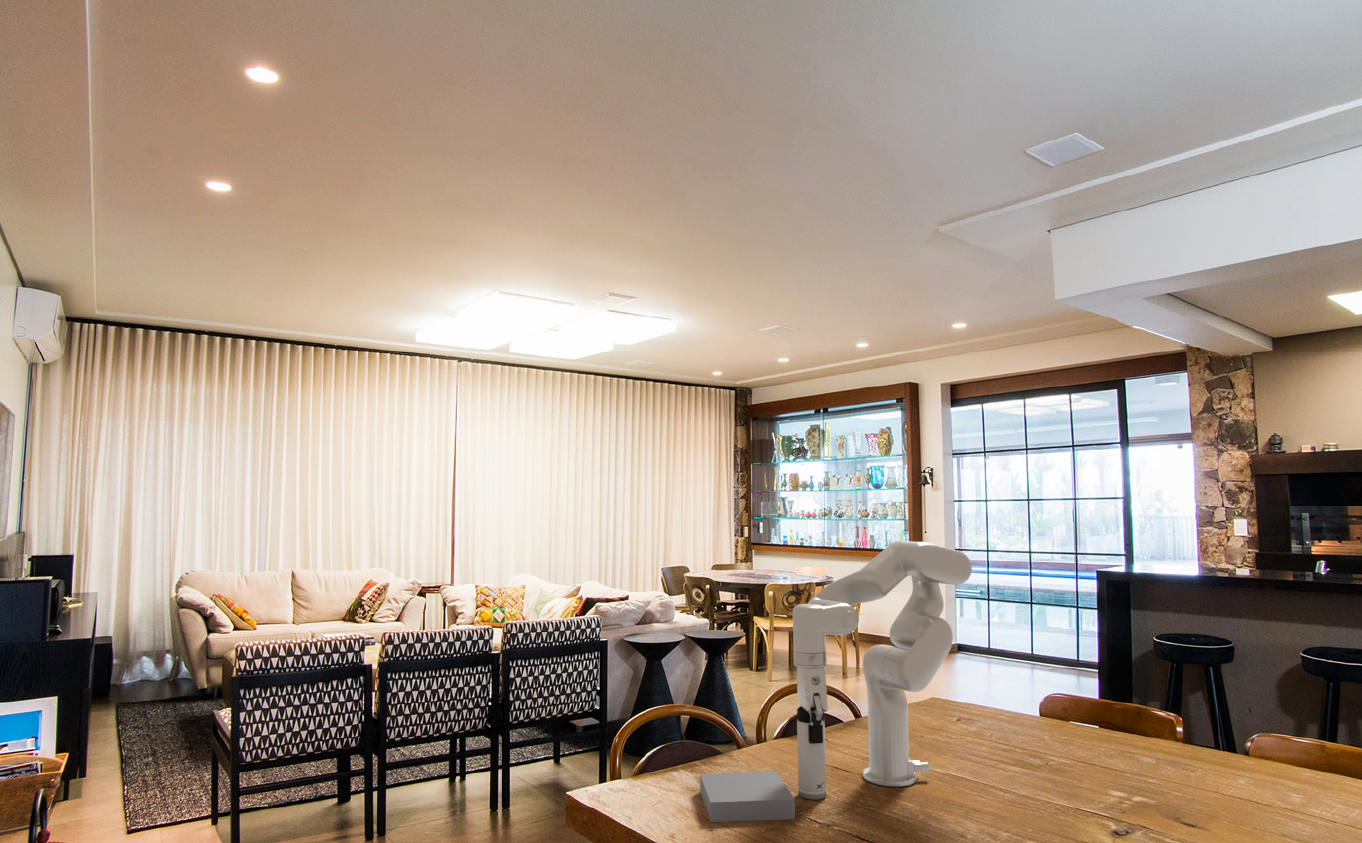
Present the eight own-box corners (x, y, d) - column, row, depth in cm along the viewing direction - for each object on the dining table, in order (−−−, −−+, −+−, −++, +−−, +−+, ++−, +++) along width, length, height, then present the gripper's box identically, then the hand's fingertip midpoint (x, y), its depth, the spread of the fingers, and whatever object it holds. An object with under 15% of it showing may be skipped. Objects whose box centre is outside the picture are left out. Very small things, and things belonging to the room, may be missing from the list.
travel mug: (827, 800, 181) (825, 708, 183) (797, 798, 183) (795, 707, 185) (828, 790, 187) (825, 702, 189) (799, 789, 189) (797, 700, 191)
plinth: (776, 789, 189) (776, 771, 189) (795, 818, 171) (794, 799, 172) (700, 791, 187) (700, 774, 188) (710, 822, 169) (710, 802, 170)
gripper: (836, 665, 180) (838, 749, 178) (815, 651, 197) (817, 727, 195) (803, 666, 179) (805, 750, 177) (785, 652, 196) (787, 728, 194)
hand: (811, 737), depth 186 cm, fingers closed on travel mug, 6 cm apart
